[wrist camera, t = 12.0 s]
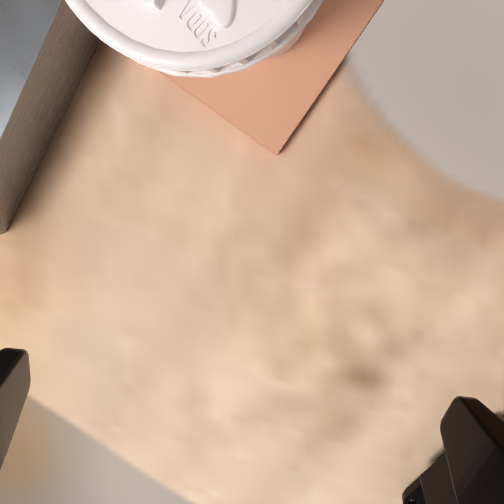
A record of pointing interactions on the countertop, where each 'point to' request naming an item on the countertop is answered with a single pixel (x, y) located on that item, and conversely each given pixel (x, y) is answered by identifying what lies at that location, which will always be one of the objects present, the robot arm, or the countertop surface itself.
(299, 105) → the tile
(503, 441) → the robot arm
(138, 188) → the countertop surface
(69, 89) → the socket block
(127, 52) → the smoothie
